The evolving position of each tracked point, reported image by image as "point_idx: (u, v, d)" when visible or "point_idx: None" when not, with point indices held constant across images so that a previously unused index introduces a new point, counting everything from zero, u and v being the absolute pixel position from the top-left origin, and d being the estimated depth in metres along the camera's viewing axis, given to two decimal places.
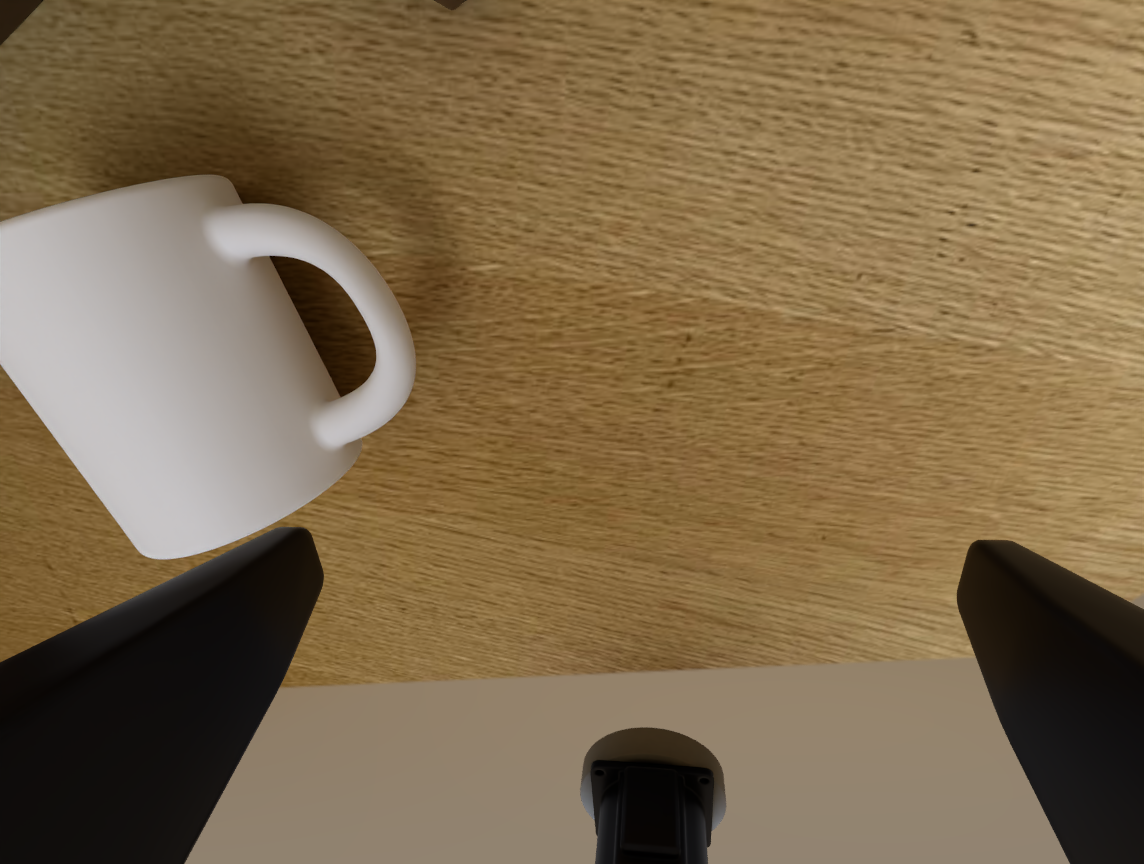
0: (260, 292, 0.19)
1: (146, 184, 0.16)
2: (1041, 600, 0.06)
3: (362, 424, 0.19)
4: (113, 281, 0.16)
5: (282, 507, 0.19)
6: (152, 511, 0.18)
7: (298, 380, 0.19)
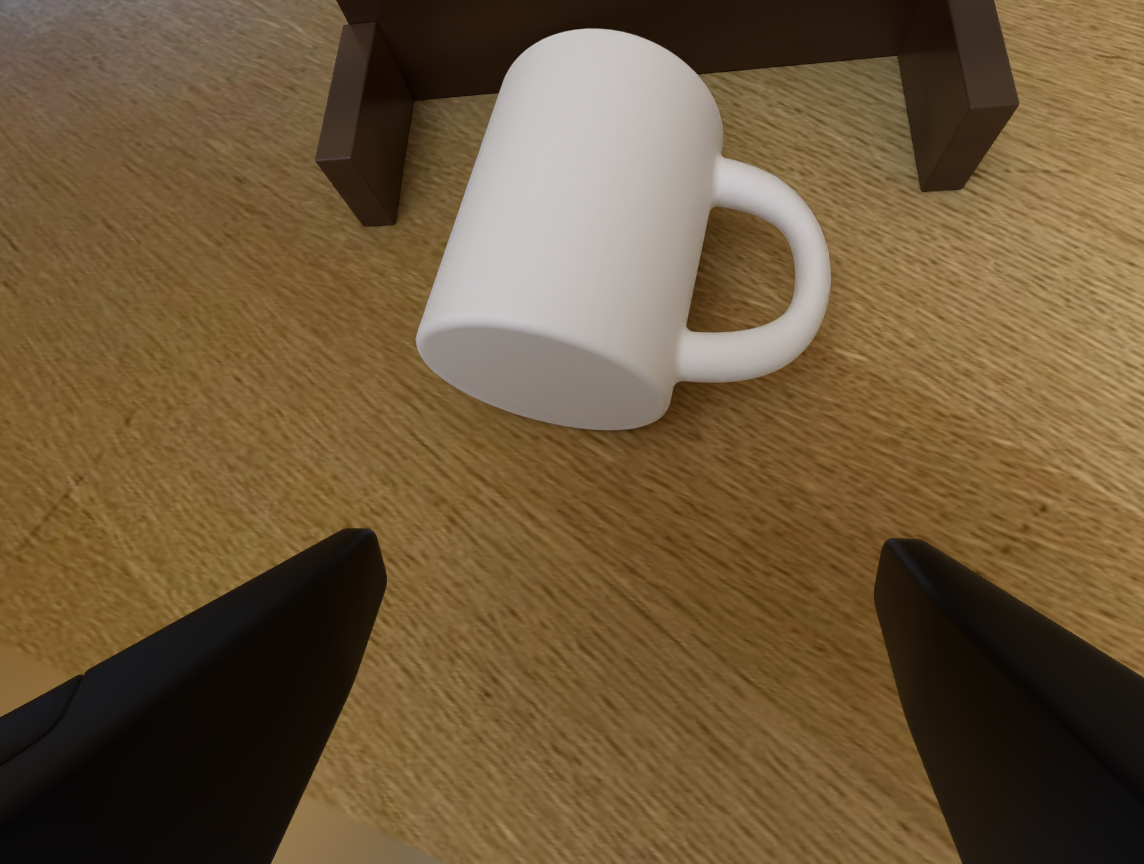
0: (705, 227, 0.20)
1: None
2: (933, 597, 0.06)
3: (734, 355, 0.17)
4: (670, 109, 0.17)
5: (634, 353, 0.16)
6: (533, 262, 0.15)
7: (690, 297, 0.19)
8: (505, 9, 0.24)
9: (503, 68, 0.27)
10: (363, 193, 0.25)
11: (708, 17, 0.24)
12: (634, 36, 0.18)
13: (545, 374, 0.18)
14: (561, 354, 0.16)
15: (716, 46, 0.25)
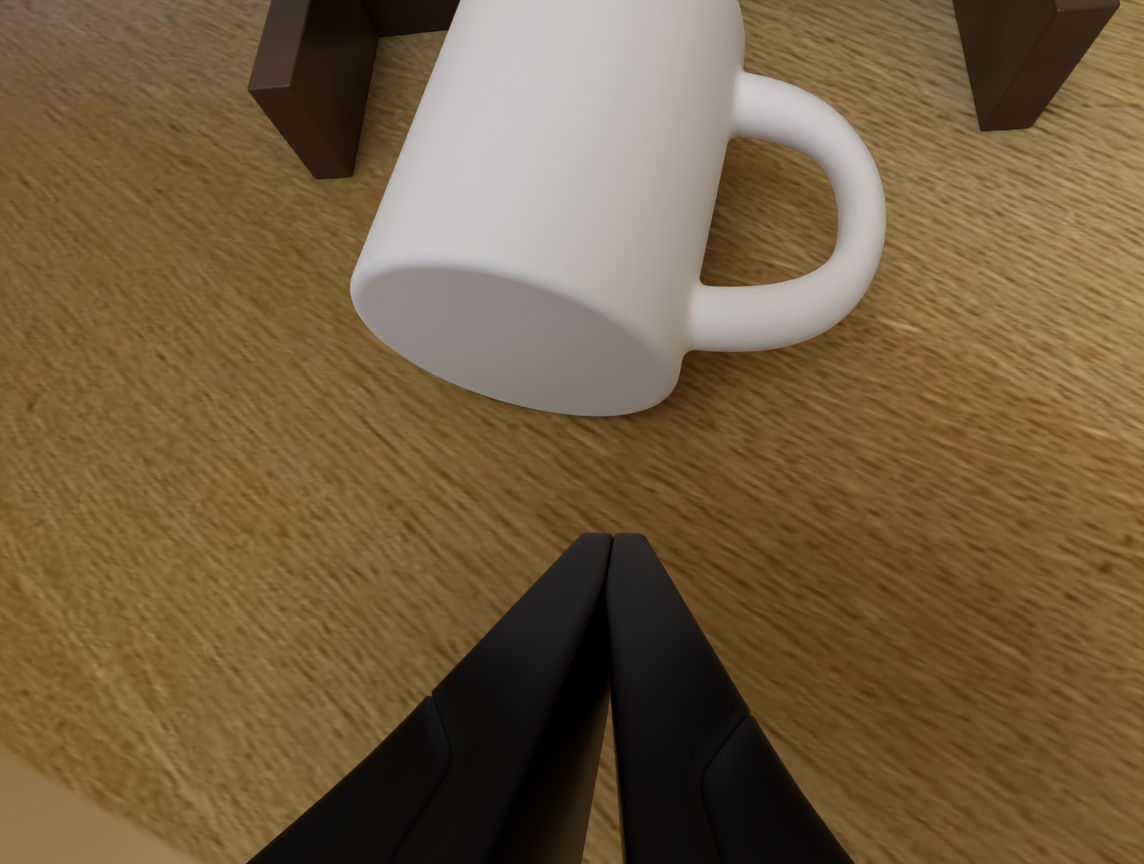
0: (723, 159, 0.16)
1: None
2: (608, 587, 0.07)
3: (763, 315, 0.13)
4: None
5: (632, 304, 0.12)
6: (495, 179, 0.11)
7: (704, 243, 0.14)
8: None
9: None
10: (311, 135, 0.21)
11: None
12: None
13: (517, 339, 0.14)
14: (534, 306, 0.12)
15: None
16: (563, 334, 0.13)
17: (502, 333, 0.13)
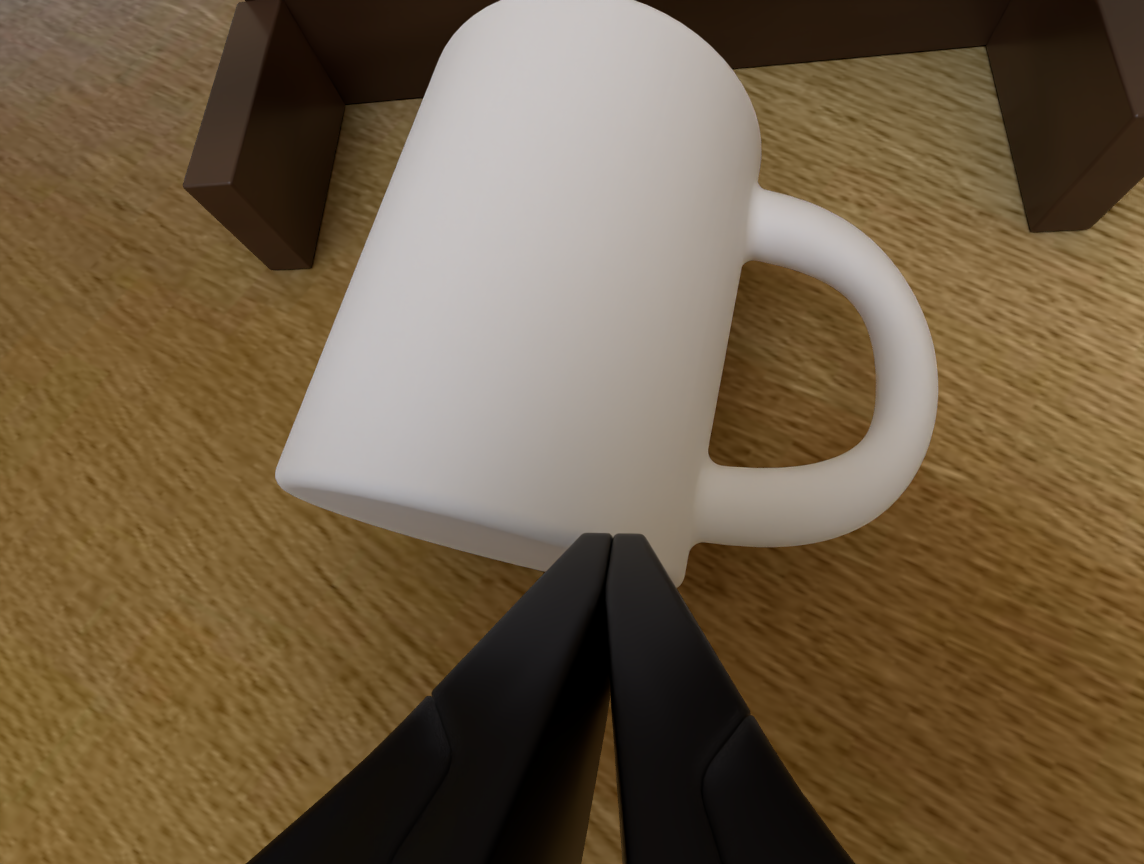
0: None
1: None
2: (608, 586, 0.07)
3: (788, 514, 0.11)
4: (685, 116, 0.11)
5: None
6: (446, 383, 0.09)
7: (714, 408, 0.12)
8: None
9: None
10: (260, 230, 0.18)
11: None
12: (628, 0, 0.11)
13: (483, 540, 0.11)
14: (499, 535, 0.09)
15: (741, 32, 0.19)
16: (538, 551, 0.10)
17: (464, 535, 0.11)
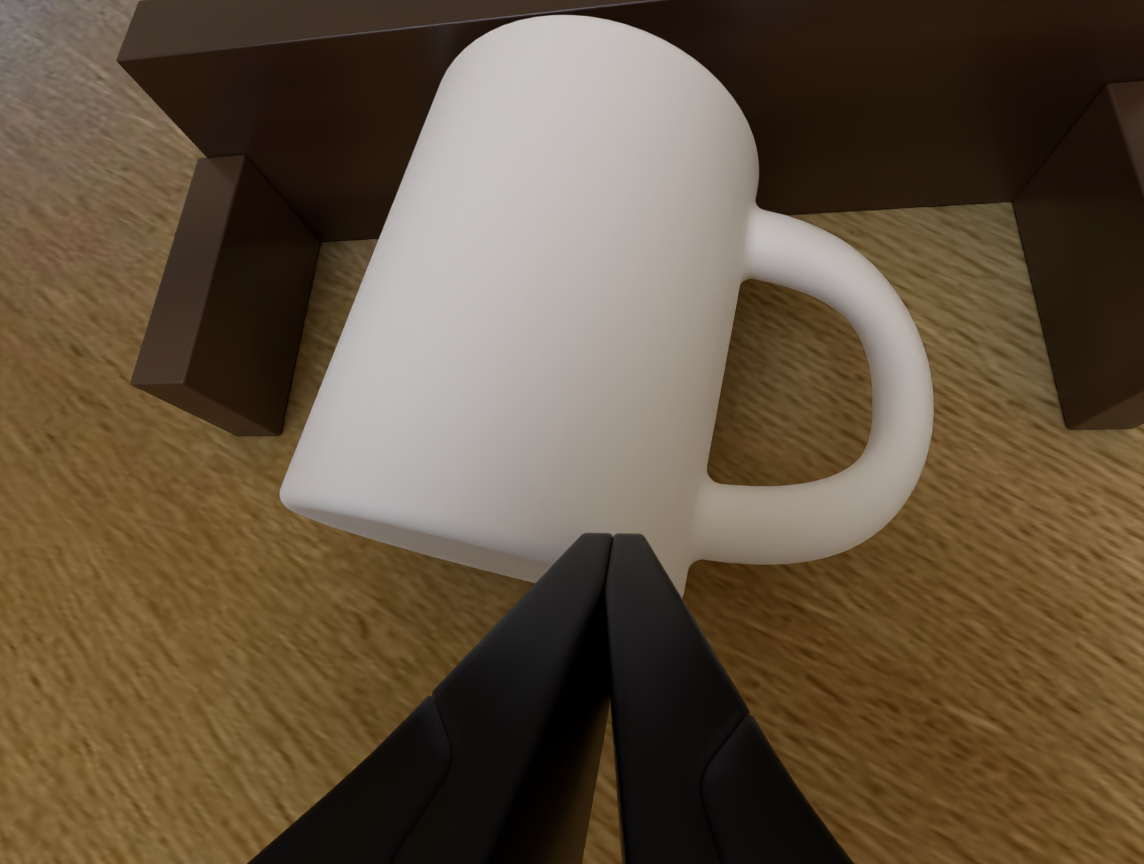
0: None
1: None
2: (607, 587, 0.07)
3: (786, 533, 0.11)
4: (684, 140, 0.11)
5: None
6: (449, 407, 0.09)
7: (713, 426, 0.12)
8: None
9: None
10: (221, 412, 0.16)
11: None
12: (627, 26, 0.11)
13: (484, 559, 0.11)
14: (500, 556, 0.09)
15: None
16: (539, 570, 0.10)
17: (466, 554, 0.11)
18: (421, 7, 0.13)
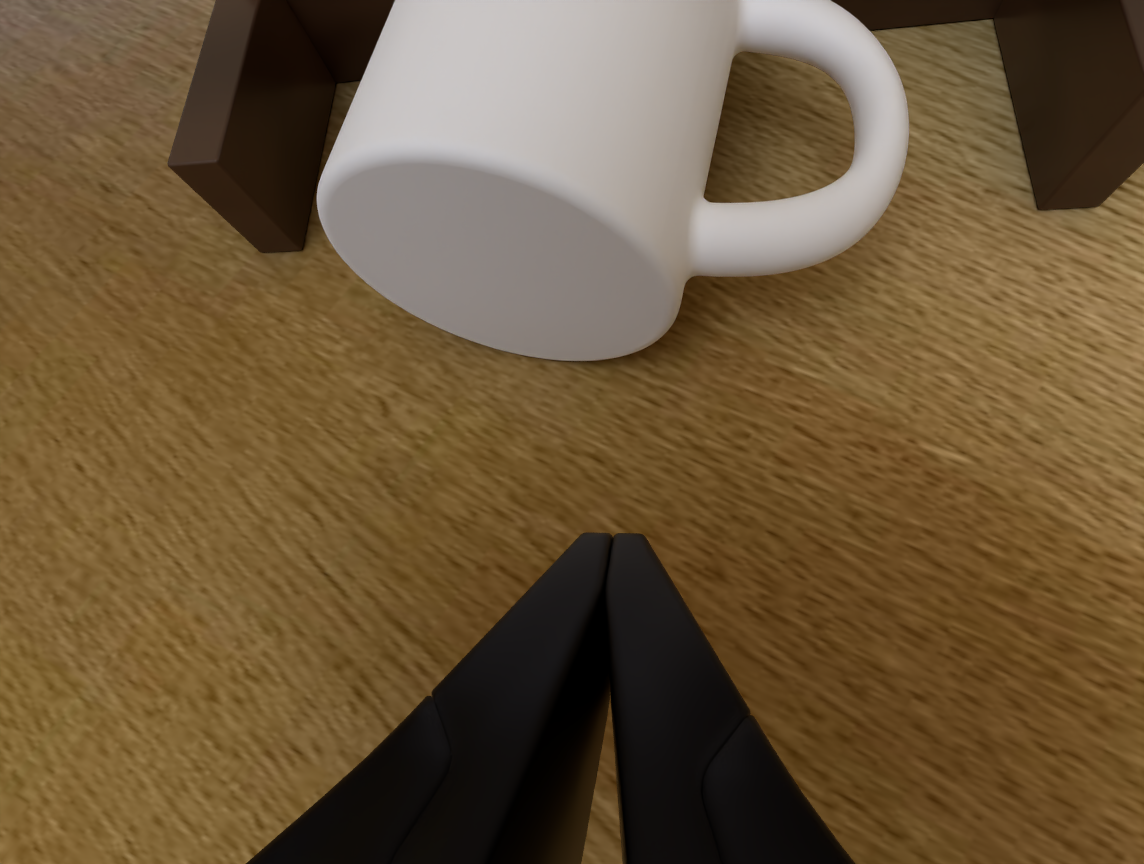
0: (728, 71, 0.14)
1: None
2: (608, 587, 0.07)
3: (773, 230, 0.12)
4: None
5: (628, 206, 0.10)
6: (473, 62, 0.10)
7: (708, 158, 0.13)
8: None
9: None
10: (249, 210, 0.18)
11: None
12: None
13: (501, 259, 0.12)
14: (518, 210, 0.11)
15: None
16: (552, 248, 0.11)
17: (485, 252, 0.12)
18: None
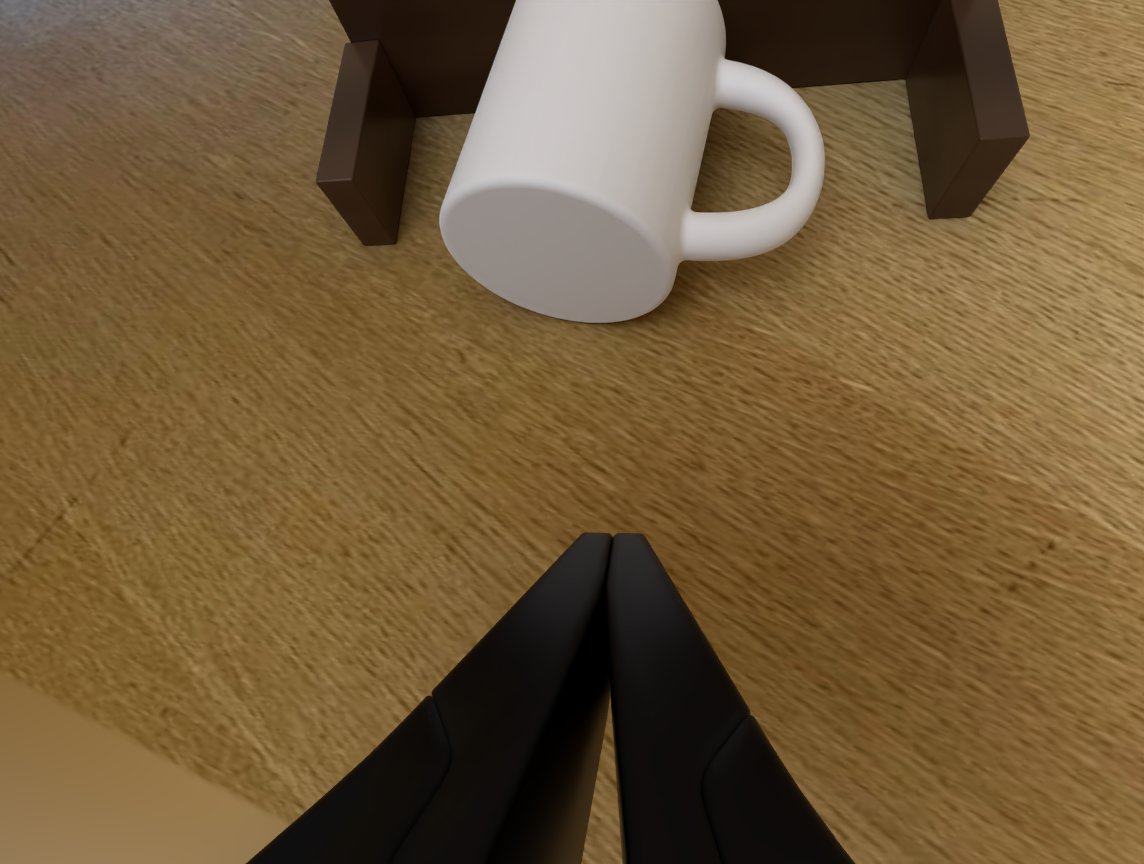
0: (708, 123, 0.21)
1: None
2: (608, 587, 0.07)
3: (734, 230, 0.19)
4: (677, 1, 0.19)
5: (643, 214, 0.17)
6: (551, 127, 0.17)
7: (694, 182, 0.20)
8: None
9: None
10: (364, 214, 0.24)
11: None
12: None
13: (559, 247, 0.19)
14: (576, 216, 0.17)
15: None
16: (594, 240, 0.18)
17: (549, 243, 0.19)
18: None
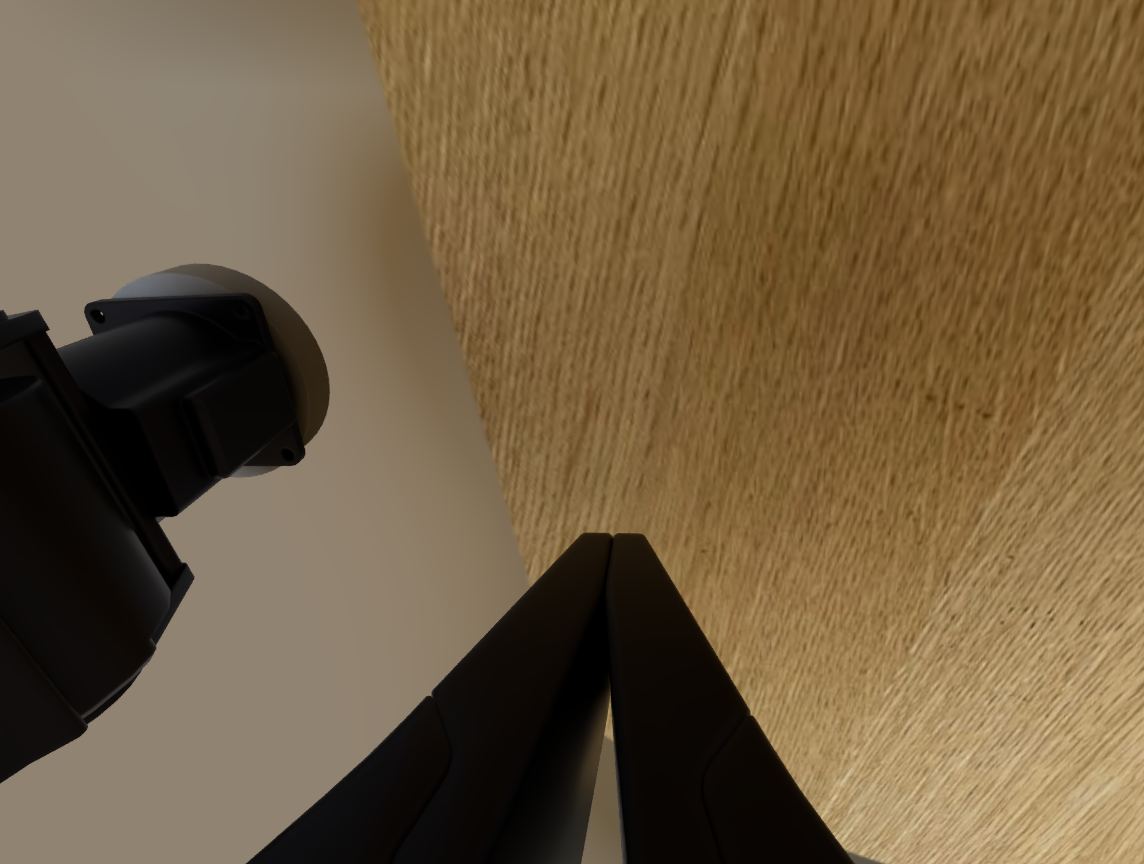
0: None
1: None
2: (607, 586, 0.07)
3: None
4: None
5: None
6: None
7: None
8: None
9: None
10: None
11: None
12: None
13: None
14: None
15: None
16: None
17: None
18: None
